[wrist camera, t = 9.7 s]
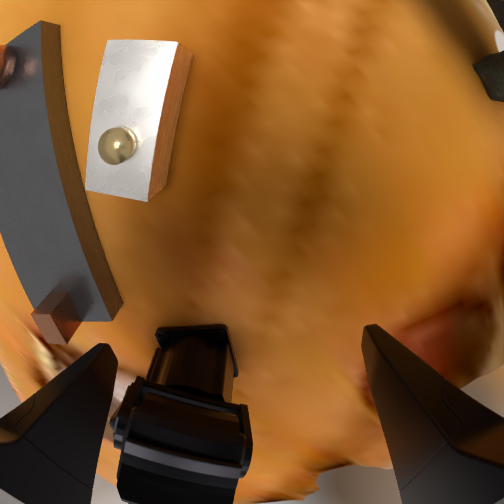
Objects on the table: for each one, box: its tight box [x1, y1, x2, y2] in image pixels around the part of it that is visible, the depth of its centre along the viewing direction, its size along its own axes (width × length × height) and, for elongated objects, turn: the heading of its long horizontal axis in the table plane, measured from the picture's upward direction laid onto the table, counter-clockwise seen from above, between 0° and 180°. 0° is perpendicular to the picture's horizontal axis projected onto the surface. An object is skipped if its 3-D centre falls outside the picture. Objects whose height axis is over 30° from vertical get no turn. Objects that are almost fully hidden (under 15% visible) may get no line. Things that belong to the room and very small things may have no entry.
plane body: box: [0, 21, 123, 345], centre depth 16 cm, size 24×9×6 cm, turn 8°
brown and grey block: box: [85, 40, 193, 202], centre depth 15 cm, size 9×4×5 cm, turn 166°
